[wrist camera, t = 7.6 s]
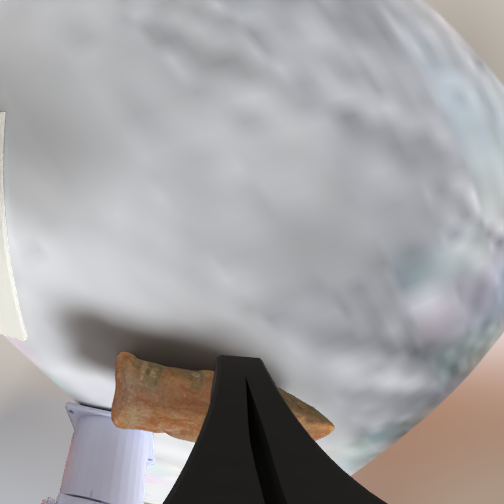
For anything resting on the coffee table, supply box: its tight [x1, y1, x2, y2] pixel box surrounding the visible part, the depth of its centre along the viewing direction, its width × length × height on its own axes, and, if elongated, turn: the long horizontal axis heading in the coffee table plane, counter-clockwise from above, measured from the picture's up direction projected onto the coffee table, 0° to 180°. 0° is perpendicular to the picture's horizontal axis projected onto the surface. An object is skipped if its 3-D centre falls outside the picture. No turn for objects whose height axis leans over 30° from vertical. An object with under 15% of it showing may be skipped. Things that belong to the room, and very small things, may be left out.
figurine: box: [111, 351, 334, 443], centre depth 19 cm, size 8×8×15 cm
